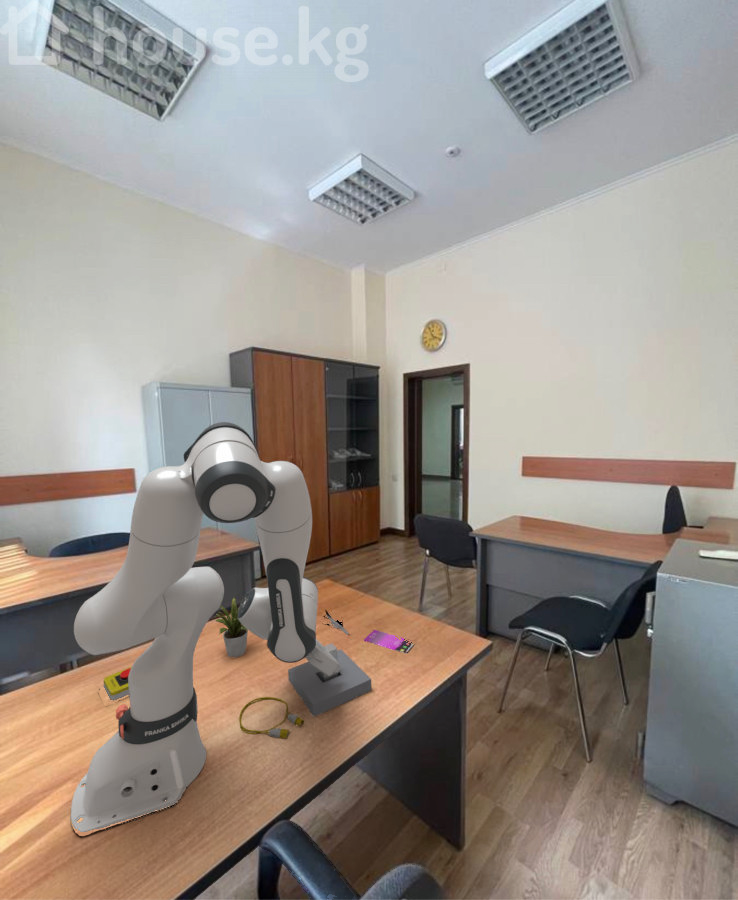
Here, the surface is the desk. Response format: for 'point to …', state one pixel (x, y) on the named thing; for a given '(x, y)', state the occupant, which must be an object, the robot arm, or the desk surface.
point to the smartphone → (389, 641)
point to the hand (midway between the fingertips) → (330, 659)
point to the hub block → (329, 685)
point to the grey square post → (333, 652)
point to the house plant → (233, 632)
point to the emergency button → (117, 684)
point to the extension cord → (276, 732)
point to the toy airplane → (336, 623)
